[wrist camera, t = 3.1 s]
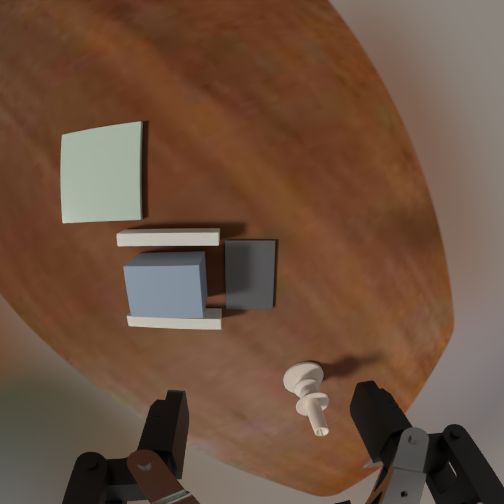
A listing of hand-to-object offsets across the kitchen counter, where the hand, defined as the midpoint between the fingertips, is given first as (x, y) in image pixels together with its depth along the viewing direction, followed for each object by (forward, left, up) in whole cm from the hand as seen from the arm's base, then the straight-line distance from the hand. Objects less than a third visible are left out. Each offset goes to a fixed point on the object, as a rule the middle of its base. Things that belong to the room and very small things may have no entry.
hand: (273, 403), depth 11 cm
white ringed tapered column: (-7, +14, -19) cm, 24 cm away
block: (+8, 0, -19) cm, 20 cm away
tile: (+16, -11, -18) cm, 27 cm away
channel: (+5, 0, -18) cm, 19 cm away
